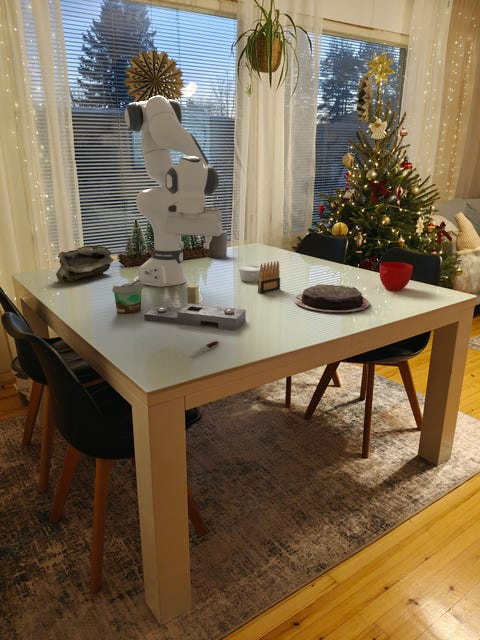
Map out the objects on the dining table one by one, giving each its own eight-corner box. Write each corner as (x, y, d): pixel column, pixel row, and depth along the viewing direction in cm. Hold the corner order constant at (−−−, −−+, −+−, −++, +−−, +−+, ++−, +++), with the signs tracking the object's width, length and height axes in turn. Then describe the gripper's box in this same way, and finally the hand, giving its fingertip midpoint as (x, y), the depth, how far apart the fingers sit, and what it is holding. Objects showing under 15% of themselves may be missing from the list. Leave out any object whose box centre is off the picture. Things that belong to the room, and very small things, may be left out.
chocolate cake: (291, 293, 200) (291, 277, 198) (361, 294, 199) (362, 278, 197) (296, 314, 173) (297, 296, 171) (377, 316, 172) (379, 298, 170)
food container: (127, 317, 167) (125, 288, 164) (113, 314, 170) (111, 286, 167) (151, 308, 177) (150, 281, 174) (139, 305, 180) (137, 278, 177)
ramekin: (265, 277, 223) (265, 265, 222) (263, 283, 213) (264, 271, 211) (240, 276, 224) (240, 264, 223) (237, 282, 214) (237, 270, 212)
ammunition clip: (260, 293, 197) (261, 264, 193) (257, 292, 198) (258, 263, 194) (280, 289, 203) (281, 260, 199) (277, 288, 204) (278, 259, 201)
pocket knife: (217, 344, 145) (217, 338, 144) (220, 345, 144) (220, 339, 144) (188, 360, 134) (187, 353, 133) (190, 360, 134) (190, 353, 133)
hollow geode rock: (111, 281, 232) (95, 255, 234) (123, 265, 224) (107, 238, 227) (57, 292, 210) (41, 263, 213) (69, 274, 202) (52, 245, 205)
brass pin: (187, 308, 177) (187, 286, 175) (191, 306, 180) (190, 284, 177) (195, 309, 176) (195, 287, 174) (198, 307, 179) (198, 285, 177)
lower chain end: (144, 319, 165) (143, 311, 164) (158, 311, 174) (157, 303, 173) (200, 326, 159) (200, 317, 158) (211, 317, 168) (211, 308, 167)
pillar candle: (206, 258, 261) (206, 229, 256) (210, 254, 270) (211, 226, 266) (224, 259, 260) (225, 230, 255) (228, 255, 269) (228, 227, 264)
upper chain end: (177, 323, 161) (177, 309, 160) (189, 314, 170) (189, 300, 169) (236, 330, 156) (236, 315, 154) (245, 321, 165) (245, 306, 163)
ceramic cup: (366, 290, 203) (369, 266, 199) (386, 283, 214) (389, 260, 211) (396, 297, 194) (399, 272, 191) (415, 289, 206) (418, 265, 203)
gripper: (224, 207, 167) (224, 248, 171) (168, 205, 173) (170, 244, 177) (218, 208, 161) (218, 251, 166) (160, 206, 167) (162, 247, 171)
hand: (193, 247), depth 171 cm, fingers open, 8 cm apart
